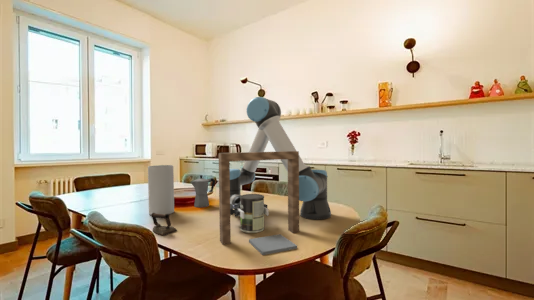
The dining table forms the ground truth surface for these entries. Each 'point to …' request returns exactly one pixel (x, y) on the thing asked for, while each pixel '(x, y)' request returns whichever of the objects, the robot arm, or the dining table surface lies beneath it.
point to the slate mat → (272, 244)
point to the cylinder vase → (161, 189)
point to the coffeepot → (202, 191)
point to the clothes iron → (162, 229)
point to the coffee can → (252, 213)
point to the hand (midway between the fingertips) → (255, 213)
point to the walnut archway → (252, 156)
